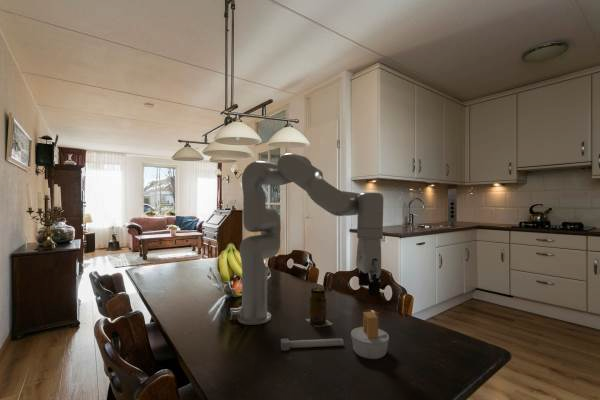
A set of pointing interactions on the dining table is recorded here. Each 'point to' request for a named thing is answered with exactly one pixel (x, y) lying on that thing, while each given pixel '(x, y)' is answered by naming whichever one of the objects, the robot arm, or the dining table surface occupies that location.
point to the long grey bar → (310, 343)
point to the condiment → (318, 308)
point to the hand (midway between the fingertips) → (368, 290)
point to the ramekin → (369, 343)
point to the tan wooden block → (370, 324)
